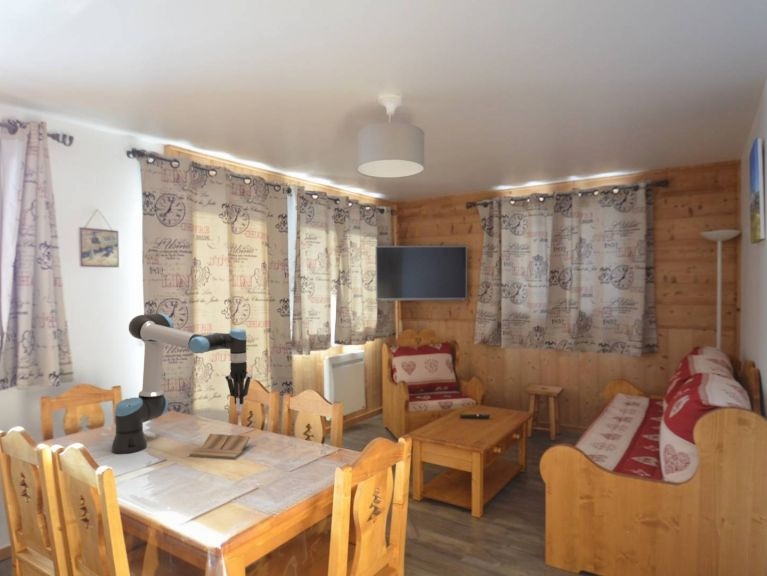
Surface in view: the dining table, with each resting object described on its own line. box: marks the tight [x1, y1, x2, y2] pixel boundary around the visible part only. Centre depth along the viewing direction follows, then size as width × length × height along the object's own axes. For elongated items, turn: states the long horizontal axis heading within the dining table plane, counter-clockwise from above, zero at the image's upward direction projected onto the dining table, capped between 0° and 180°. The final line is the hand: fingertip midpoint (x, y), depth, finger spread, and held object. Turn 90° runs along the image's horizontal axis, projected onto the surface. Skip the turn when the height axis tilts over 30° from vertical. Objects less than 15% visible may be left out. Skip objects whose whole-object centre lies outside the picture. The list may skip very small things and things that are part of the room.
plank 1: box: [201, 433, 230, 449], centre depth 231 cm, size 10×9×1 cm
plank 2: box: [222, 434, 251, 451], centre depth 229 cm, size 10×9×1 cm
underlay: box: [186, 444, 257, 461], centre depth 227 cm, size 24×20×2 cm
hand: (239, 410), depth 232 cm, fingers closed
